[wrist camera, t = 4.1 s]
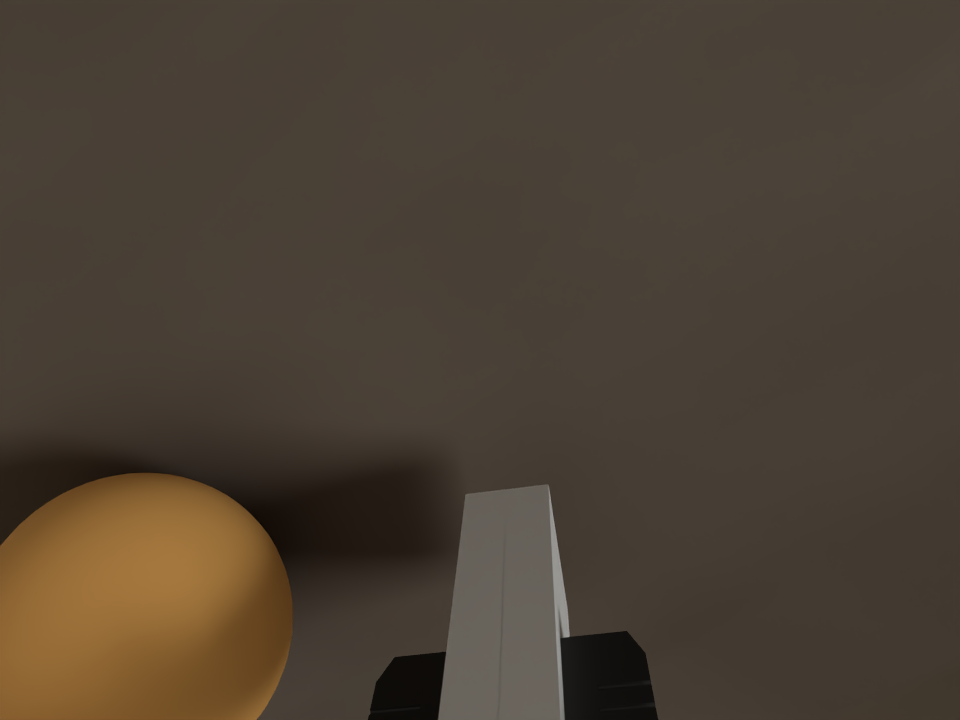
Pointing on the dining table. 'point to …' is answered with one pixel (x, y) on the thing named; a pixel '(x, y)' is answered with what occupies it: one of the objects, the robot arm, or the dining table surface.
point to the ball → (141, 606)
